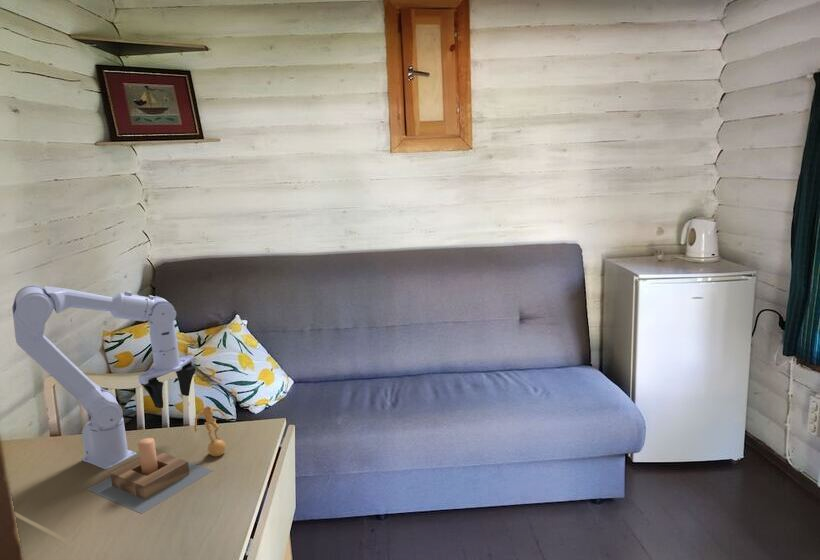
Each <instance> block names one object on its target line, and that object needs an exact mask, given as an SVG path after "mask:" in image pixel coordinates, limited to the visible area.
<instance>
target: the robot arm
mask: <svg viewBox="0 0 820 560" xmlns="http://www.w3.org/2000/svg"><path fill="white" fill-rule="evenodd" d="M43 287H44V288H43ZM43 287H41V286H39V285H35V284H32V285H26V286H23V287H21V288H20V289H19V290H18V291H17V292H16V294H15V297H14V301H13V303H12V307H11V308H12V309H11V310H12V316H13V317H12V318H13V329H14V337H15V342H16V344H17V346H18V347H19V348H20V349H21V350H23V351H24V352H25V353H26V354H27V355H28V356H29V357H30V358H31V359H32V360H34V361H35V362H36V363H37V365H39V366H40V367H41V368H42V369H43V370H44V371H45V372H47V373H48V374H49V375H50V376H51V377H52V378H53V379H54V380H55V381H56V382H57V383H59V385H61V386H62V387H63V388H64V389H65V390H66V391H67V392H68V393H69V394H70V395H71V396H73V397H74V398H75V399H76V400H77V402H78V403H80V405H81V406H82V407H83V409H84V411H86V412H87V413H88V414H89V416H90V420H89V421H88V422H86V423H85V425H84V426H83V428H82V431H81V439H82V446H83V453H84V457H81V461H82V462H86V463H89V464H92V465H94V466H97V467H99V468H101V469H104V470H107V469H110V468H112V467H114V466H116V465H118V464H119V463H121V462H124V461H126V460H128V459H129V458H132V457H134V456H135V455H137V452H136V451H132V450H131V449H128V442H127V435H126V428H125V422H124V421H125V420H124V417H123V415H124V411H123V408H122V407H121V405H120V404H119V403H118V401H117V398H116V396H115V394H114V393H113V392H112V391H110V390H107V389H104V388H102V387H100V385H98V384H97V383H95V382H94V381H93V380H91V379H90V378H89V377H88V376H87V375H86V374H85V373H84V372H83V371H82V370H81V369H80V368H79V367H78V366H77V365H76V364H75V363H74V362H72V360H70V359H69V357H67V356H66V354H65V353H63V352H62V351H61V350H60V349H59V348H58V347H57V346H56V345H55V344H54V343H53V342H52V341H51V340H50V339H49V338H48V337H46V335H44V333H45V329H46V328H45V327H46V324H47V321H48V320H49V319H50V317H51V315H52V313H53V311H55V313H56V314H60V313H61V312H64V311H66V310H68V309H70V308H71V309H82V310H92V311H102V312H103V311H105V312H109V313H111V315H112V316H113V318H115V319H124V320H130V321H138V322H148V326H149V338H150V344H151V352H152V357H153V358H152V359H153V365H154V366H153V367H151V368H149V369H148V370H146V371H145V372H143V373H141V374H138V383H139V384H140V385H141V386H142V387H143V388H144V389H145V391H146V392H147V394H148V395H149V398H151V400H152V402H153V405H154V408H158V409H163V408H164V399H163V386H164V382H162V381H159V379H160V378H161V377H163V376H166V375H168V374H171V373H172V372H174V373H175V375H176V376H177V380H178V383H179V385H178V386H179V391H180V394H181V396H185V397H188V396H190V392H191V385H192V384H191V383H192V380H193V378H194V375H195V373H196V366H195V364H196V357H195V356H194V355H189V354H188V355H186V356H181V357H180V353H179V352H180V351H179V345H178V338H177V337H178V336H177V331H176V327H175V320H176V317H177V311H176V310H175V307H174V305H173V304H172V303H171V302H169V301H168V300H166V299H165V298H163V297H160V296H158V295H155V296H153V295H148V296H143V295H136V294H133V292H132V291H129V290H125V291H124V293H123V292H119V293H117V294H114V295H113V296H107V295H101V294H97V293H91V292H88V291H87V292H86V291H81V290H80V291H79V290H76V289H69V288H63V287H57V286H51V285H50V286H49V285H48V286H43ZM158 378H159V379H158Z"/></svg>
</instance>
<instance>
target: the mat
mask: <svg viewBox="0 0 820 560" xmlns="http://www.w3.org/2000/svg"><path fill="white" fill-rule="evenodd" d="M188 466H189V475H187V476H185V477H184V478H182V479H180V480H178V481H177V482H175V483H173V484H172V485H170V486H168V487H166V488H165V489H163V490H161V491H160V492H158V493H156V494H154V495H153V496H151V497H149V498H148V499H146V500H145V499H143V498H140V497H138V496H136V495H133V494H131V493H128V492H126V491H124V490H121V489H119V488H117V487H114V486H112V481H111V476H110V477H108V478H107V479H104V480H102V481H100V482H99V483H96V484H95V485H93V486H90V487H89V488H87V489H86V491H89V492H91V493H93V494H95V495H98V496H99V497H102V498H105V499H106V500H110V501H111V502H114V503H116V504H118V505H121V506H123V507H125V508H127V509H130V510H132V511H134V512H137V513H139V514H141V515H142V514H143V513H146V512H147V511H149V510H150V509H152V508H154V507H155V506H157V505H159V504H160V503H162V502H164V501H165V500H167V499H169V498H170V497H172V496H173V495H176V494H177V493H178V492H180V491H182V490H184V489H185V488H187V487H189V486H190V485H192V484H194V483H195V482H197V481H199V480H200V479H202V478H203V477H205V476H207V475H208V474H210V473H212V472H213V471H214V470H213V469H210V468H207V467H204V466H201V465H198V464H196V463H193V462H191V461H188Z"/></svg>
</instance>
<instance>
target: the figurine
mask: <svg viewBox="0 0 820 560" xmlns="http://www.w3.org/2000/svg"><path fill="white" fill-rule="evenodd" d="M214 412H219V413H220V414H221V415H222V416H223V417H225V419H226V420H228V418H227V416H226V414H225V413H224V412H223V411H222V410H221V409H220V408H215V407H212V406H210V405H207V406H203V407H202V409H201V411H200V412H199V414H197V415H196V416H195V417H194V432H198V430H199V429H198V428H197V426H198V419H199V418H200V417H202V416H203V417H204V418H205V422H204V427H205V428H206V430H207V431H208V433H207V435H208V438H209V439H210V442H209V444H208V446H207V452H208V453H209V454H210V455H211V456H212V457H215V458H216V457H220V456H222V455H224V453H225V451H226V450H227V448H226V447H227V446H226V442H225V441H223V439H221V438H219V436H218V433H217V432H218V431H219V428H220V427H219V425H218V424H217V422H216V418H213V414H214ZM213 428H215V429H214V433H213V434H214V437H215V439H213V437H212V429H213Z"/></svg>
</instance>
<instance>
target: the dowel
mask: <svg viewBox="0 0 820 560" xmlns="http://www.w3.org/2000/svg"><path fill="white" fill-rule="evenodd" d="M137 446H138V453H139V458H140V462H141V469H142V474H143V475H146V476H148V475H150V474H151V473H153V472H155V471H157V470H158V464H157V457H156V442H155V439H154V438H152V437H147V438H146V437H145V438H143V439H140V440H139V441H138V442H137Z"/></svg>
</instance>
